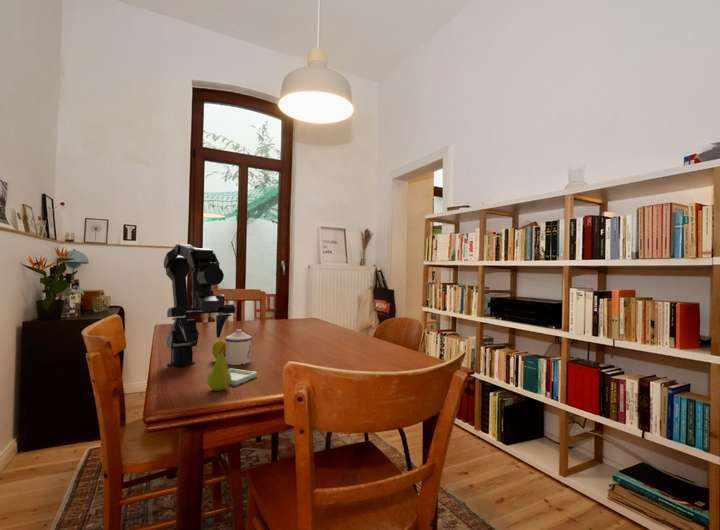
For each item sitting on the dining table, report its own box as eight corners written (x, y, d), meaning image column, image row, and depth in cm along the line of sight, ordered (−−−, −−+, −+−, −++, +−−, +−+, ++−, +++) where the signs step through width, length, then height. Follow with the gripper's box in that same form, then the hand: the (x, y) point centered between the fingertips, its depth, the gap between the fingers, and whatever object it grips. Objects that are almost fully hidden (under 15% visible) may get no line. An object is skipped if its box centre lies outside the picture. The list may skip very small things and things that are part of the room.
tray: (208, 381, 110) (208, 376, 110) (231, 372, 119) (231, 368, 119) (235, 385, 106) (235, 380, 106) (256, 376, 116) (257, 372, 116)
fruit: (208, 387, 105) (209, 344, 105) (231, 385, 107) (232, 343, 107) (206, 394, 99) (207, 349, 99) (230, 392, 101) (231, 348, 101)
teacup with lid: (253, 364, 131) (254, 331, 131) (226, 366, 127) (227, 332, 127) (246, 356, 142) (247, 326, 142) (221, 358, 137) (222, 327, 138)
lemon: (222, 363, 131) (223, 340, 131) (208, 361, 132) (209, 339, 132) (231, 359, 137) (231, 337, 137) (217, 358, 138) (218, 336, 138)
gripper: (176, 286, 102) (177, 343, 101) (241, 285, 115) (243, 336, 113) (166, 289, 111) (166, 342, 109) (228, 288, 123) (229, 336, 121)
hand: (203, 339), depth 113 cm, fingers open, 9 cm apart
